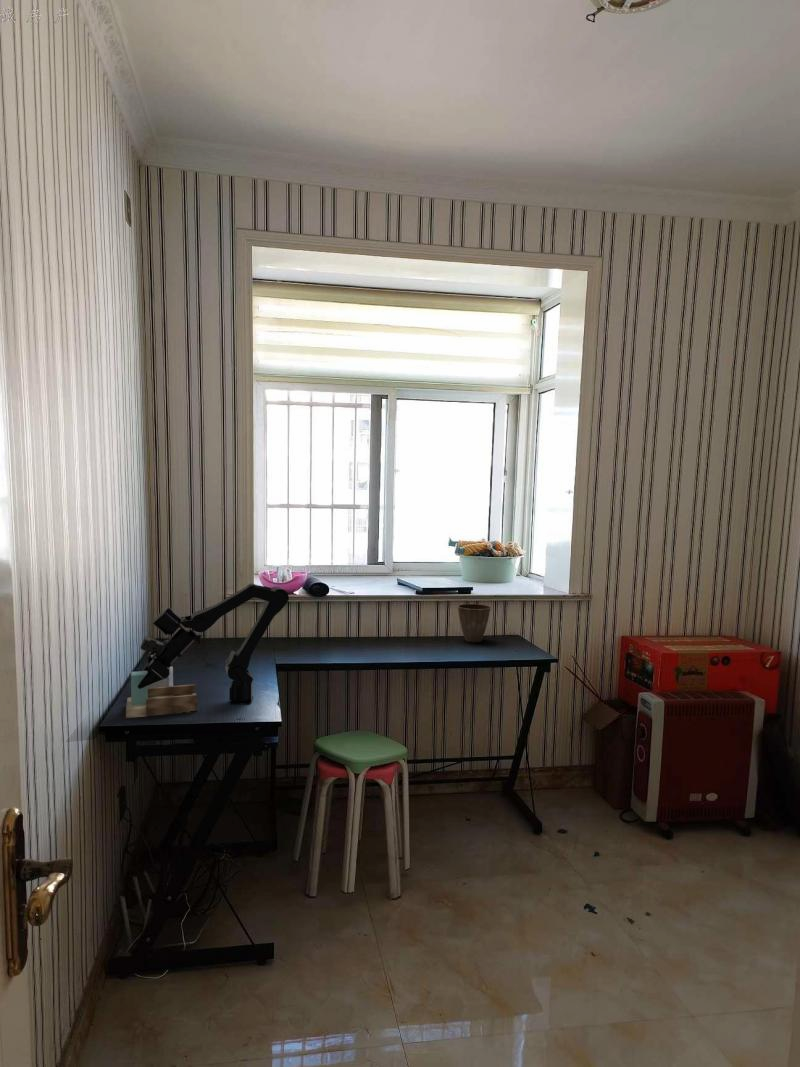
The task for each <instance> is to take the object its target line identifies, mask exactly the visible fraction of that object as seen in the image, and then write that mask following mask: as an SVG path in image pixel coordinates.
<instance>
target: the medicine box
mask: <svg viewBox="0 0 800 1067" xmlns="http://www.w3.org/2000/svg"><path fill="white" fill-rule="evenodd" d="M169 669H170V675H169V676H168V677H167V678H166V679H163V680H160V681H158V682H155V683H153V684H150V685H148V686H147V688H155V687H167V686H174V667H173V666H171V667H170V668H169Z"/></svg>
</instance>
